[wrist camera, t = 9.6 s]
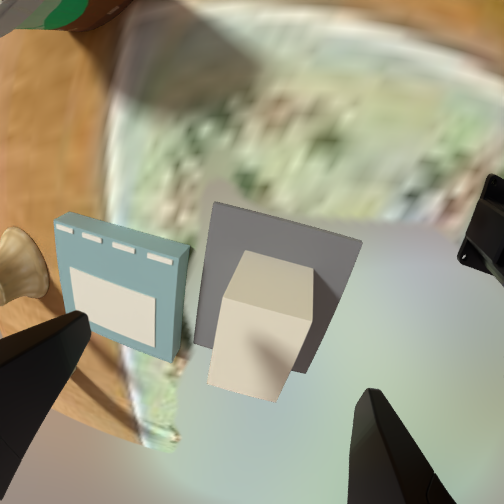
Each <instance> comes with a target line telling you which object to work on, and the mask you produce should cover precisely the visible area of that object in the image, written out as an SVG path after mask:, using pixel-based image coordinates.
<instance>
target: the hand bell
mask: <svg viewBox="0 0 504 504" xmlns="http://www.w3.org/2000/svg"><path fill="white" fill-rule="evenodd" d="M48 287H49V276H48V271H47V267H46V264H45V261H44V259H43V256H42V254H41V252H40V250H39V249H38V247H37V245H36V244H35V243H34V241H33V240H32V239H31V237H30V236H29V235H28V234H27V233H26V232H24V231H23V230H21V229H20V228H18V227H9V228H7V229H6V230H5V232H4V233H3V235H2V237H1V240H0V306H4V305H5V304H7V303H8V302H10V301H12V300H14V299H16V298H19V297H22V296H28V297H30V298H41V297H43V296H44V295H45V294H46V292H47V290H48Z"/></svg>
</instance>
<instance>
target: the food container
mask: <svg viewBox="0 0 504 504" xmlns="http://www.w3.org/2000/svg"><path fill="white" fill-rule="evenodd" d="M132 1H133V0H0V37H3V36H4V35H6V34H8V33H9V32H11V31H12V30H14V29H44V30H62V31H74V32H83V31H89V30H92V29H95V28H97V27H99V26H101V25H103V24H105V23H107V22H108V21H110V20H111V19H113V18H114V17H115V16H117V15H118V14H119V13H120V12H121V11H123V10H124V9H125V8H126V7H127V6H128V5H129V4H130V3H131V2H132Z"/></svg>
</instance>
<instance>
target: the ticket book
mask: <svg viewBox="0 0 504 504" xmlns="http://www.w3.org/2000/svg"><path fill="white" fill-rule="evenodd" d="M54 231H55V243H56V252H57V261H58V268H59V275H60V282H61V288H62V294H63V300H64V305H65V310H66V314H67V313H69V312H72V311H75V310H79V311H81V312H84V313H86V314H87V315H88V318H89V323H90V328H91V331H93V332H95V333H97V334H100V335H102V336H104V337H106V338H109V339H111V340H113V341H116V342H118V343H120V344H123V345H125V346H128V347H130V348H133V349H135V350H138V351H140V352H143V353H145V354H148V355H151V356H153V357H156V358H159V359H161V360H164V361H167V362H170V363H172V362H173V360H174V358H175V356H176V354H177V352H178V351H179V349H180V341H181V329H182V317H183V306H184V295H185V286H186V276H187V267H188V258H189V250H190V245H186V244H183V243H179V242H175V241H172V240H168V239H165V238H161V237H157V236H154V235H150V234H147V233H143V232H140V231H136V230H133V229H129V228H125V227H122V226H118V225H115V224H111V223H108V222H104V221H101V220H97V219H94V218H90V217H87V216H83V215H80V214H76V213H73V212H68V213H66V214H64V215H62V216H60V217H58V218H56V219H54Z"/></svg>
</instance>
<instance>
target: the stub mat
mask: <svg viewBox="0 0 504 504" xmlns="http://www.w3.org/2000/svg"><path fill="white" fill-rule="evenodd" d="M361 246H362V241H361V240H358V239H354V238H351V237H347V236H343V235H340V234H337V233H333V232H330V231H326V230H322V229H319V228H315V227H312V226H308V225H305V224H301V223H297V222H294V221H290V220H286V219H282V218H279V217H275V216H271V215H267V214H263V213H259V212H256V211H252V210H248V209H244V208H240V207H236V206H232V205H228V204H223V203H220V202H214V203H213V208H212V214H211V220H210V226H209V232H208V239H207V245H206V252H205V259H204V267H203V273H202V280H201V287H200V295H199V302H198V310H197V318H196V326H195V334H194V342H193V343H194V344H197V345H200V346H204V347H207V348H210V349H213V346H214V340H215V335H216V329H217V324H218V319H219V313H220V308H221V303H222V298H223V295H224V293H225V291H226V289H227V287H228V285H229V283H230V281H231V278H232V276H233V274H234V272H235V270H236V268H237V266H238V264H239V262H240V260H241V258H242V256H243V253H244V251H245V250H247V251H251V252H254V253H258V254H262V255H265V256H269V257H273V258H276V259H280V260H284V261H287V262H291V263H295V264H298V265H302V266H306V267H310V268H313V318H312V323H311V326H310V328H309V331H308V333H307V335H306V338H305V340H304V342H303V345H302V347H301V349H300V351H299V354H298V356H297V358H296V360H295V363H294V365H293V367H292V369H291V371H295V372H300V373H306V372H307V370H308V368H309V366H310V364H311V362H312V360H313V358H314V356H315V354H316V351H317V350H318V347H319V345H320V343H321V341H322V339H323V337H324V335H325V333H326V330H327V328H328V326H329V324H330V322H331V319H332V317H333V315H334V312H335V310H336V308H337V305H338V303H339V301H340V299H341V296H342V294H343V292H344V289H345V287H346V284H347V282H348V279H349V277H350V274H351V272H352V269H353V267H354V264H355V262H356V259H357V257H358V254H359V251H360V249H361Z"/></svg>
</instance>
